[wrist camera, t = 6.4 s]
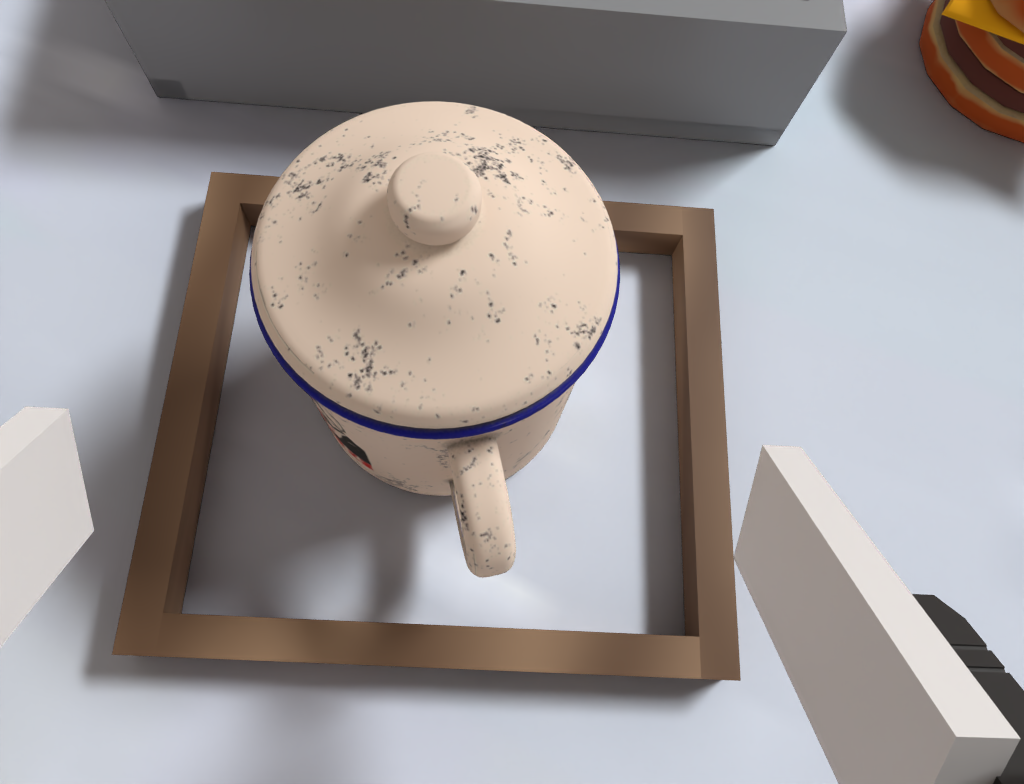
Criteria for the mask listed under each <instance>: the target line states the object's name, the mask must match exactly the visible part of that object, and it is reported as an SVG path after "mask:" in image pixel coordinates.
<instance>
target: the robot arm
mask: <svg viewBox="0 0 1024 784" xmlns="http://www.w3.org/2000/svg"><path fill="white" fill-rule="evenodd" d="M93 531H94V527H93V523H92V518H91V513H90V508H89V504H88V499H87V494H86V489H85V485H84V480H83V475H82V470H81V466H80V461H79V456H78V451H77V447H76V442H75V437H74V432H73V427H72V423H71V418H70V413H69V409H63V408H44V407H25V408H23V409H22V410H21V411H20V412H18V413H17V414H16V415H15V416H13V417H12V418H11V419H10V420H8V421H7V422H6V423H5V424H3V425H2V426H1V427H0V648H1V647H2V646H3V644H4V643H5V642H6V641H7V639H8V638H9V637H10V636H11V634H12V633H13V632H14V631H15V629H16V628H17V627H18V626H19V624H20V623H21V622H22V621H23V619H24V618H25V617H26V616H27V614H28V613H29V612H30V610H31V609H32V608H33V607H34V605H35V604H36V603H37V602H38V600H39V599H40V598H41V597H42V595H43V594H44V593H45V592H46V590H47V589H48V588H49V587H50V585H51V584H52V583H53V582H54V580H55V579H56V578H57V577H58V575H59V574H60V573H61V572H62V570H63V569H64V568H65V567H66V565H67V564H68V563H69V562H70V560H71V559H72V558H73V556H74V555H75V554H76V553H77V551H78V550H79V549H80V548H81V546H82V545H83V544H84V543H85V541H86V540H87V539H88V538H89V536H90V535H91V534H92V533H93ZM734 560H735V562H736V564H737V566H738V568H739V571H740V573H741V575H742V577H743V579H744V581H745V584H746V586H747V588H748V590H749V592H750V594H751V596H752V599H753V601H754V603H755V605H756V607H757V609H758V611H759V614H760V616H761V618H762V620H763V622H764V624H765V626H766V629H767V631H768V633H769V635H770V637H771V639H772V642H773V644H774V646H775V648H776V650H777V652H778V654H779V657H780V659H781V661H782V663H783V665H784V667H785V669H786V672H787V674H788V676H789V678H790V680H791V682H792V684H793V687H794V689H795V691H796V693H797V695H798V697H799V700H800V702H801V704H802V706H803V708H804V710H805V712H806V715H807V717H808V719H809V721H810V723H811V725H812V727H813V730H814V732H815V734H816V736H817V738H818V740H819V743H820V745H821V747H822V749H823V751H824V753H825V755H826V758H827V760H828V762H829V764H830V766H831V768H832V770H833V773H834V775H835V777H836V779H837V781H838V783H839V784H1024V690H1023V689H1022V688H1021V687H1020V686H1019V684H1018V683H1017V682H1016V681H1015V679H1014V678H1013V677H1012V676H1011V674H1010V673H1005V670H1004V668H1005V667H1004V666H1003V665H1002V663H1001V662H1000V661H999V660H998V658H997V657H996V656H995V655H994V654H993V652H992V651H990V650H987V648H986V646H987V645H986V644H985V643H984V641H983V640H982V639H981V638H980V636H979V635H978V634H977V633H976V631H975V630H974V629H973V628H972V627H971V625H970V624H969V623H968V622H967V620H966V619H965V618H964V617H962V616H961V615H960V614H958V613H957V612H956V611H954V610H953V609H952V608H950V607H949V606H948V605H946V604H945V603H944V602H942V601H941V600H940V599H938V598H937V597H936V596H934V595H920V594H911V592H910V591H909V590H908V588H907V587H906V586H905V584H904V583H903V582H902V580H901V579H900V578H899V576H898V575H897V574H896V572H895V571H894V570H893V569H892V567H891V566H890V565H889V563H888V562H887V561H886V559H885V558H884V557H883V555H882V554H881V553H880V551H879V550H878V549H877V547H876V546H875V545H874V543H873V542H872V541H871V539H870V538H869V537H868V535H867V534H866V533H865V531H864V530H863V529H862V527H861V526H860V525H859V523H858V522H857V521H856V519H855V518H854V517H853V515H852V514H851V513H850V511H849V510H848V509H847V507H846V506H845V505H844V503H843V502H842V501H841V500H840V498H839V497H838V496H837V494H836V493H835V492H834V490H833V489H832V488H831V486H830V485H829V484H828V482H827V481H826V480H825V478H824V477H823V476H822V474H821V473H820V472H819V470H818V469H817V468H816V466H815V465H814V464H813V462H812V461H811V460H810V458H809V457H808V456H807V454H806V453H805V452H804V450H803V449H802V448H801V447H793V446H773V445H762V449H761V453H760V457H759V461H758V465H757V469H756V473H755V477H754V481H753V484H752V488H751V492H750V496H749V500H748V504H747V508H746V512H745V516H744V520H743V524H742V527H741V531H740V535H739V539H738V543H737V547H736V551H735V555H734Z"/></svg>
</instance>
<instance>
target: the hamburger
mask: <svg viewBox="0 0 1024 784" xmlns="http://www.w3.org/2000/svg"><path fill="white" fill-rule="evenodd" d="M919 45H920V49H921V53H922V56H923V60H924V64H925V68H926V71H927V74H928V76H929V77H930V78H931V80H932V81H933V82H934V84H935V85H936V86H937V88H938V89H939V90H940V92H941V93H942V94H943V96H944V97H945V98H946V100H947V101H948V103H949V104H950V105H951V106H952V107H954V108H955V109H956V110H958V111H959V112H961V113H962V114H963V115H965V116H966V117H968V118H969V119H970V120H972V121H973V122H974V123H976V124H977V125H979V126H980V127H981V128H983V129H985V130H988V131H991V132H994V133H997V134H1000V135H1003V136H1006V137H1009V138H1011V139H1014V140H1017V141H1020V142H1023V143H1024V0H934V1H933V3H932V4H931V5H930V7H929V8H928V10H927V13H926V17H925V21H924V26H923V30H922V34H921V38H920V42H919Z"/></svg>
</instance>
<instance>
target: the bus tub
mask: <svg viewBox="0 0 1024 784" xmlns="http://www.w3.org/2000/svg"><path fill="white" fill-rule="evenodd" d="M105 2H106V3H107V5H108V7H109V9H110V11H111V12H112V14H113V16H114V18H115V20H116V22H117V23H118V25H119V27H120V29H121V31H122V33H123V34H124V36H125V38H126V40H127V42H128V43H129V45H130V47H131V49H132V51H133V53H134V54H135V56H136V58H137V60H138V62H139V64H140V65H141V67H142V69H143V71H144V73H145V74H146V76H147V78H148V80H149V82H150V84H151V85H152V87H153V89H154V91H155V93H156V95H157V96H158V97H167V98H180V99H192V100H205V101H218V102H230V103H243V104H255V105H268V106H281V107H293V108H306V109H319V110H331V111H344V112H357V113H367V112H370V111H373V110H376V109H380V108H384V107H388V106H392V105H398V104H404V103H413V102H430V101H441V102H455V103H462V104H469V105H474V106H478V107H483V108H487V109H490V110H493V111H496V112H499V113H503V114H505V115H507V116H510V117H512V118H515V119H517V120H519V121H521V122H523V123H525V124H527V125H529V126H534V127H547V128H559V129H572V130H585V131H597V132H610V133H622V134H635V135H648V136H660V137H673V138H686V139H698V140H711V141H724V142H736V143H749V144H762V145H774V146H775V145H776V143H777V142H778V140H779V139H780V137H781V135H782V134H783V132H784V131H785V129H786V127H787V126H788V124H789V123H790V121H791V119H792V118H793V116H794V115H795V113H796V112H797V110H798V108H799V107H800V105H801V104H802V102H803V100H804V99H805V97H806V96H807V94H808V93H809V91H810V89H811V88H812V86H813V85H814V83H815V81H816V80H817V78H818V77H819V75H820V74H821V72H822V70H823V69H824V67H825V66H826V64H827V62H828V61H829V59H830V58H831V56H832V54H833V53H834V51H835V50H836V48H837V47H838V45H839V43H840V42H841V40H842V39H843V37H844V35H845V34H846V32H847V27H846V20H845V13H844V6H843V0H105Z"/></svg>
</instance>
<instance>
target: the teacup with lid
mask: <svg viewBox="0 0 1024 784" xmlns="http://www.w3.org/2000/svg"><path fill="white" fill-rule="evenodd" d="M249 275H250V291H251V296H252V302H253V307H254V311H255V314H256V317H257V321H258V324H259V326H260V329H261V331H262V334H263V336H264V338H265V340H266V342H267V344H268V346H269V348H270V349H271V351H272V353H273V355H274V356H275V358H276V359H277V360H278V362H279V363H280V365H281V366H282V367H283V369H284V370H285V371H286V372H287V373H288V375H289V376H290V377H291V378H292V379H293V380H294V381H295V382H296V384H298V385H299V386H300V387H301V388H302V389H303V390H304V391H305V392H306V393H307V394H309V395H310V396H311V398H312V399H313V401H314V403H315V405H316V406H317V408H318V410H319V411H320V413H321V415H322V416H323V418H324V420H325V421H326V423H327V425H328V426H329V428H330V430H331V432H332V433H333V435H334V437H335V438H336V440H337V441H338V443H339V444H340V445H341V447H342V448H343V450H344V451H345V452H346V453H347V454H348V455H349V456H350V457H351V459H353V460H354V461H355V462H356V463H357V464H358V465H359V466H360V467H361V468H363V469H364V470H366V471H367V472H368V473H370V474H371V475H373V476H374V477H376V478H378V479H379V480H381V481H383V482H385V483H387V484H389V485H392V486H394V487H397V488H400V489H403V490H405V491H410V492H414V493H418V494H425V495H437V496H448V495H452V500H453V505H454V510H455V515H456V520H457V525H458V530H459V535H460V539H461V544H462V548H463V552H464V556H465V560H466V563H467V566H468V568H469V570H470V571H471V572H472V573H473V574H474V575H476V576H478V577H490V576H494V575H499V574H503V573H505V572H507V571H508V570H509V569H510V568H511V567H512V565H513V563H514V560H515V554H516V545H515V534H514V527H513V520H512V513H511V507H510V502H509V497H508V491H507V486H506V482H505V479H507V478H508V477H510V476H512V475H513V474H515V473H516V472H518V471H519V470H520V469H522V468H523V467H524V466H525V465H527V464H528V463H529V462H530V461H531V460H532V459H533V458H534V457H535V456H536V455H537V454H538V453H539V451H540V450H541V449H542V448H543V446H544V445H545V444H546V442H547V441H548V440H549V438H550V436H551V434H552V433H553V431H554V429H555V427H556V425H557V423H558V420H559V418H560V416H561V414H562V411H563V409H564V407H565V404H566V402H567V400H568V398H569V395H570V393H571V391H572V389H573V386H574V384H575V382H576V381H577V380H578V379H579V377H580V376H581V375H582V374H583V373H584V372H585V371H586V369H587V368H588V366H589V365H590V364H591V362H592V361H593V360H594V358H595V357H596V355H597V353H598V351H599V350H600V348H601V346H602V345H603V343H604V340H605V338H606V336H607V334H608V331H609V329H610V327H611V324H612V320H613V317H614V314H615V310H616V306H617V301H618V295H619V284H620V262H619V255H618V247H617V243H616V239H615V235H614V231H613V227H612V224H611V221H610V218H609V215H608V213H607V210H606V208H605V206H604V204H603V201H602V199H601V197H600V195H599V194H598V192H597V190H596V189H595V187H594V185H593V184H592V182H591V181H590V180H589V178H588V177H587V176H586V174H585V173H584V172H583V170H582V169H581V168H580V167H579V166H578V164H577V163H576V162H575V161H574V160H573V159H572V158H571V157H570V156H569V155H568V154H567V153H566V152H565V151H564V150H563V149H562V148H560V147H559V146H558V145H557V144H556V143H554V142H553V141H552V140H550V139H549V138H548V137H547V136H545V135H544V134H542V133H540V132H539V131H537V130H536V129H534V128H533V127H531V126H529V125H527V124H525V123H523V122H521V121H519V120H517V119H515V118H512V117H510V116H507V115H505V114H503V113H499V112H496V111H493V110H490V109H487V108H483V107H478V106H474V105H469V104H462V103H455V102H441V101H430V102H413V103H404V104H398V105H392V106H388V107H384V108H380V109H376V110H373V111H370V112H367V113H365V114H362V115H359V116H357V117H354V118H352V119H350V120H348V121H346V122H344V123H342V124H340V125H338V126H336V127H335V128H333V129H331V130H329V131H328V132H326V133H325V134H324V135H322V136H321V137H319V138H318V139H316V140H315V141H314V142H313V143H311V144H310V145H309V146H308V147H307V148H305V149H304V150H303V151H302V152H301V153H300V154H299V155H298V156H297V157H296V158H295V159H294V160H293V161H292V163H291V164H290V165H289V166H288V167H287V169H286V170H285V171H284V172H283V173H282V175H281V176H280V178H279V179H278V181H277V182H276V184H275V185H274V187H273V188H272V190H271V192H270V194H269V196H268V197H267V199H266V201H265V203H264V206H263V208H262V211H261V213H260V216H259V218H258V222H257V225H256V229H255V232H254V238H253V244H252V250H251V256H250V272H249Z"/></svg>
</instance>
